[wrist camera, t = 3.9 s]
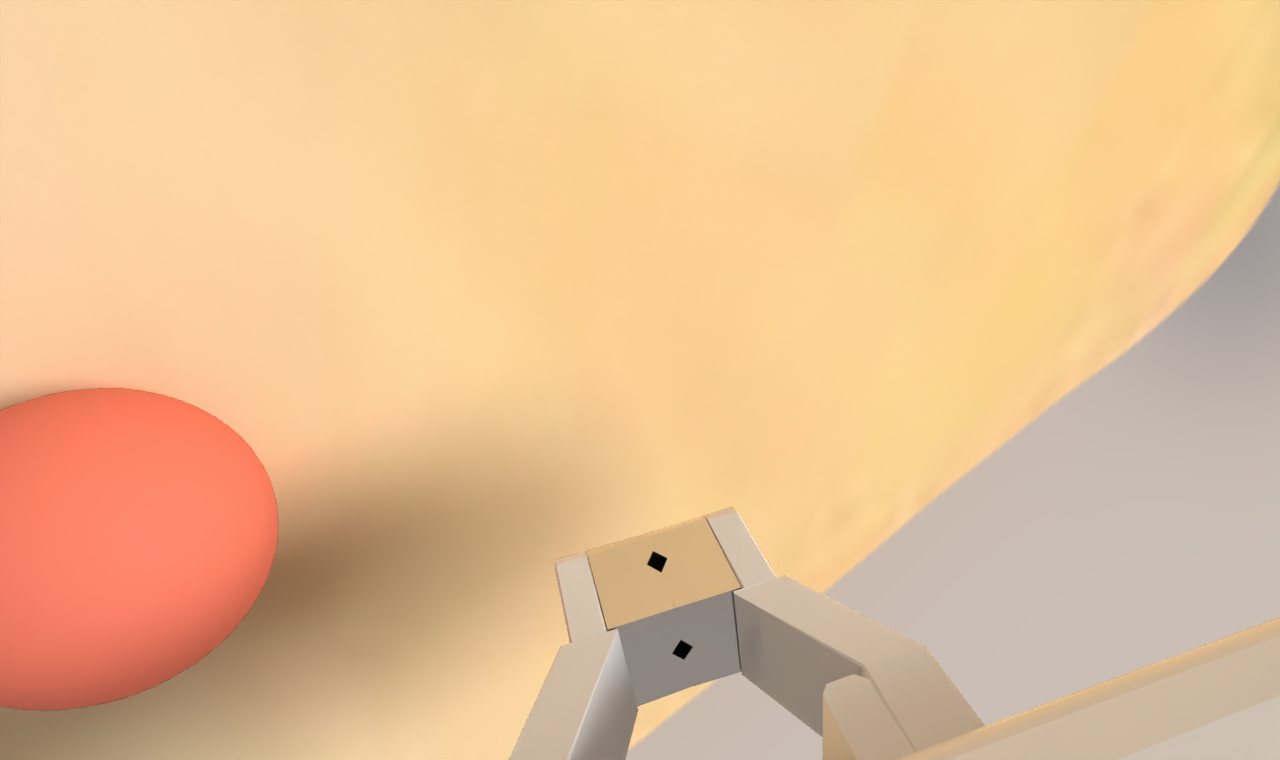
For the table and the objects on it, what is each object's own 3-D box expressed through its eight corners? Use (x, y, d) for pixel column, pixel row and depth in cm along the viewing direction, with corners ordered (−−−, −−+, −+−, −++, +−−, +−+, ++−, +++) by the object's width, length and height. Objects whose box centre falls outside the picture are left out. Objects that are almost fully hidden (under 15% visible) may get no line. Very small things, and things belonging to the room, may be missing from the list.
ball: (92, 579, 17) (-52, 828, 12) (-77, 379, 14) (-373, 601, 9) (336, 510, 18) (300, 714, 13) (232, 308, 14) (128, 470, 9)
